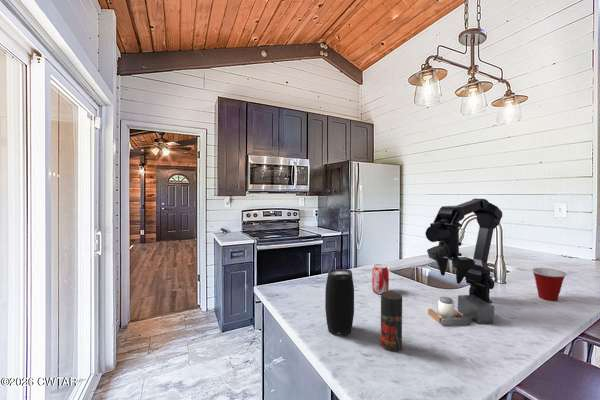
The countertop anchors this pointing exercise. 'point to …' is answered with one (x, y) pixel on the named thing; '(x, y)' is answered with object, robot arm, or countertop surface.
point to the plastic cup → (548, 282)
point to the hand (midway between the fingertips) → (450, 279)
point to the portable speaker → (339, 301)
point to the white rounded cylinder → (446, 307)
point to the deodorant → (391, 321)
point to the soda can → (380, 278)
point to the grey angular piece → (467, 312)
